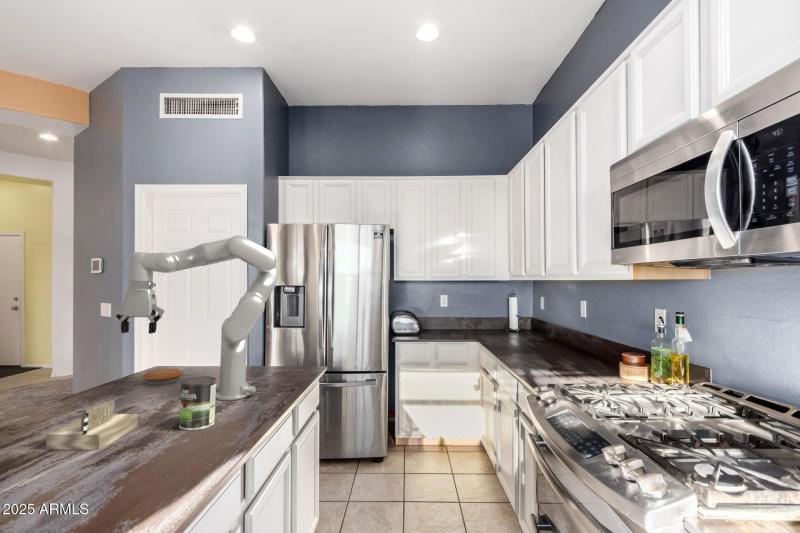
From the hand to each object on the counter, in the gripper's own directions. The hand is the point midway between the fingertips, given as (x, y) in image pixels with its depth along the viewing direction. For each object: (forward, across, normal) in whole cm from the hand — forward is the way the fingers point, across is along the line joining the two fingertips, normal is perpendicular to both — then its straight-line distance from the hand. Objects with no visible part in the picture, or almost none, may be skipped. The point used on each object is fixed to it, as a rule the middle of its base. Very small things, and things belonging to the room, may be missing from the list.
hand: (138, 332), depth 142 cm
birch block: (+26, -6, +29) cm, 39 cm away
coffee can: (+26, -30, +18) cm, 44 cm away
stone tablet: (+22, -8, +31) cm, 39 cm away
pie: (+26, +8, -32) cm, 42 cm away
